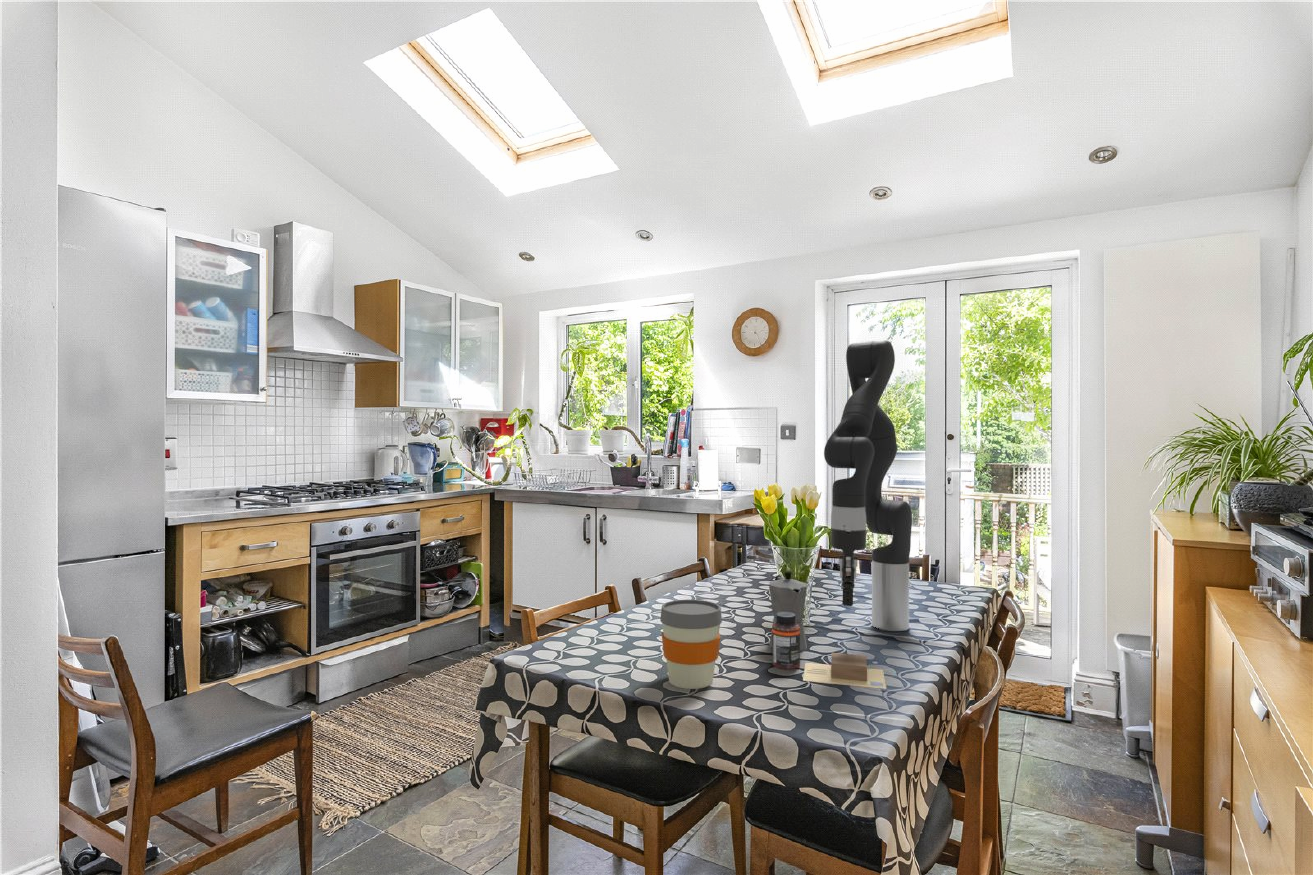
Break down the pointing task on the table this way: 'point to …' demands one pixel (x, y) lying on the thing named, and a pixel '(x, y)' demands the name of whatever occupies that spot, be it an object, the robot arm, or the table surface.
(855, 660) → the block
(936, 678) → the table surface
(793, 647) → the supplement bottle
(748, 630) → the table surface
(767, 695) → the table surface
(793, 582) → the coffeepot
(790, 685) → the table surface
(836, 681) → the letter
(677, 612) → the reusable coffee cup
